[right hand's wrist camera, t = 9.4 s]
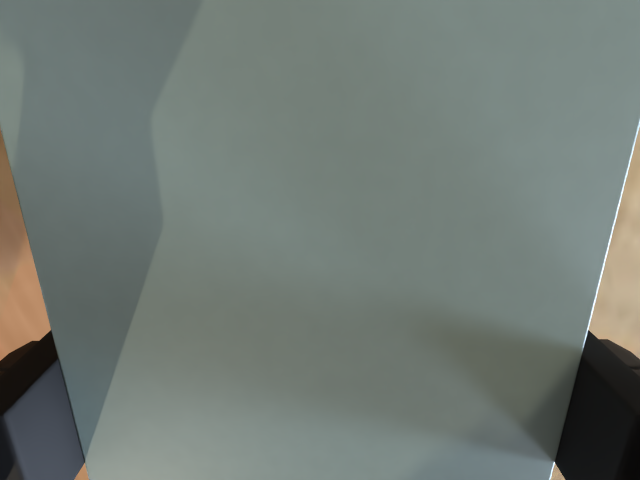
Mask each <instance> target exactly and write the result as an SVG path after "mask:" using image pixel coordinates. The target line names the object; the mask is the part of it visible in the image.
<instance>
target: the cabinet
mask: <svg viewBox="0 0 640 480" xmlns="http://www.w3.org/2000/svg"><path fill="white" fill-rule="evenodd" d="M639 125H640V0H0V128H1V132H2V136H3V140H4V144H5V148H6V152H7V156H8V160H9V164H10V168H11V172H12V176H13V180H14V184H15V188H16V192H17V196H18V200H19V204H20V208H21V212H22V215H23V219H24V223H25V227H26V231H27V235H28V239H29V243H30V247H31V251H32V255H33V259H34V263H35V267H36V271H37V275H38V279H39V283H40V287H41V291H42V295H43V299H44V303H45V307H46V311H47V315H48V319H49V322H50V326H51V330H52V334H53V338H54V342H55V346H56V350H57V354H58V358H59V362H60V366H61V370H62V374H63V378H64V382H65V386H66V390H67V394H68V398H69V402H70V406H71V410H72V414H73V418H74V422H75V426H76V430H77V433H78V437H79V441H80V445H81V449H82V453H83V457H84V461H85V465H86V469H87V473H88V477H89V480H550V479H551V475H552V471H553V467H554V463H555V459H556V455H557V451H558V447H559V443H560V439H561V435H562V431H563V427H564V423H565V419H566V415H567V411H568V407H569V403H570V399H571V395H572V391H573V387H574V383H575V379H576V375H577V371H578V368H579V364H580V360H581V356H582V352H583V348H584V344H585V340H586V336H587V332H588V328H589V324H590V320H591V316H592V312H593V308H594V304H595V300H596V296H597V292H598V288H599V284H600V280H601V276H602V272H603V268H604V264H605V260H606V256H607V252H608V248H609V244H610V240H611V236H612V232H613V228H614V224H615V220H616V216H617V212H618V208H619V205H620V201H621V197H622V193H623V189H624V185H625V181H626V177H627V173H628V169H629V165H630V161H631V157H632V153H633V149H634V145H635V141H636V137H637V133H638V129H639Z"/></svg>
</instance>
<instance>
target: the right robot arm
mask: <svg viewBox="0 0 640 480" xmlns="http://www.w3.org/2000/svg"><path fill="white" fill-rule="evenodd" d="M84 463H85V461H84V457H83V453H82V449H81V445H80V441H79V437H78V433H77V430H76V426H75V422H74V418H73V414H72V410H71V406H70V402H69V398H68V394H67V390H66V386H65V382H64V378H63V374H62V370H61V366H60V362H59V358H58V354H57V350H56V346H55V342H54V338H53V334H52V330H51V331H50V332H49V333H47V334H46V335H45V336H44V337H43V338H42V339H41V340H40V341H31V342H29V343H27V344H26V345H24V346H22V347H20V348H18V349H16V350H15V351H13V352H11V353H9V354H8V355H7V356H6V357H4V358H3V359H2V360H1V361H0V480H74V479H75V477H76V475H77V474H78V472H79V471H80V469H81V468H82V466H83V464H84ZM555 463H556V465H557V467H558V468H559V470H560V471H561V473H562V475H563V476H564V478H565V479H566V480H640V359H639V358H637V357H636V356H635V355H634V354H633V353H631V352H630V351H628V350H626V349H624V348H623V347H621V346H619V345H617V344H615V343H613V342H612V341H610V340H608V339H598V338H597V337H595V336H594V335H593V334H592V333H591V332H590V331H589V330H588V332H587V336H586V340H585V344H584V348H583V352H582V356H581V360H580V364H579V368H578V371H577V375H576V379H575V383H574V387H573V391H572V395H571V399H570V403H569V407H568V411H567V415H566V419H565V423H564V427H563V431H562V435H561V439H560V443H559V447H558V451H557V455H556V459H555Z"/></svg>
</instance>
